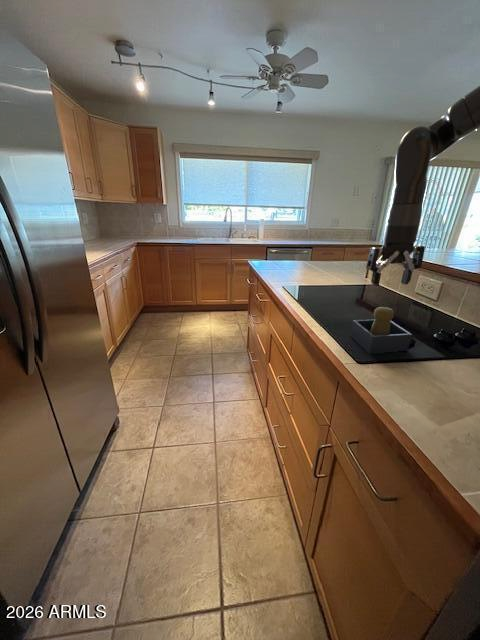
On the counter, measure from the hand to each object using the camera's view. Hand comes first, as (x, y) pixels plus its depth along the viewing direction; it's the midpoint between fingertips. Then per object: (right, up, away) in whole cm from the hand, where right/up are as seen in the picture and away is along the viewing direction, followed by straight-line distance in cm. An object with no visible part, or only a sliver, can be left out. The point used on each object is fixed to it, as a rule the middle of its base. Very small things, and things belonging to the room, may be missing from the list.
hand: (389, 284), depth 73 cm
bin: (0, -17, +7) cm, 19 cm away
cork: (0, -17, +7) cm, 18 cm away
